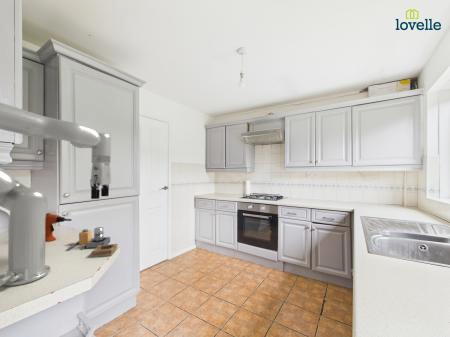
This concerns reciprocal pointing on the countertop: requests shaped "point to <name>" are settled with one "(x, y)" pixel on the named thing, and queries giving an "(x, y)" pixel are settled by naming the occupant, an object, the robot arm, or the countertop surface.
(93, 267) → the countertop surface
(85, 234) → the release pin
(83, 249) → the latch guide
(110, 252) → the wooden square tray
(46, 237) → the toy drill
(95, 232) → the silver metal cylinder
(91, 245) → the socket
